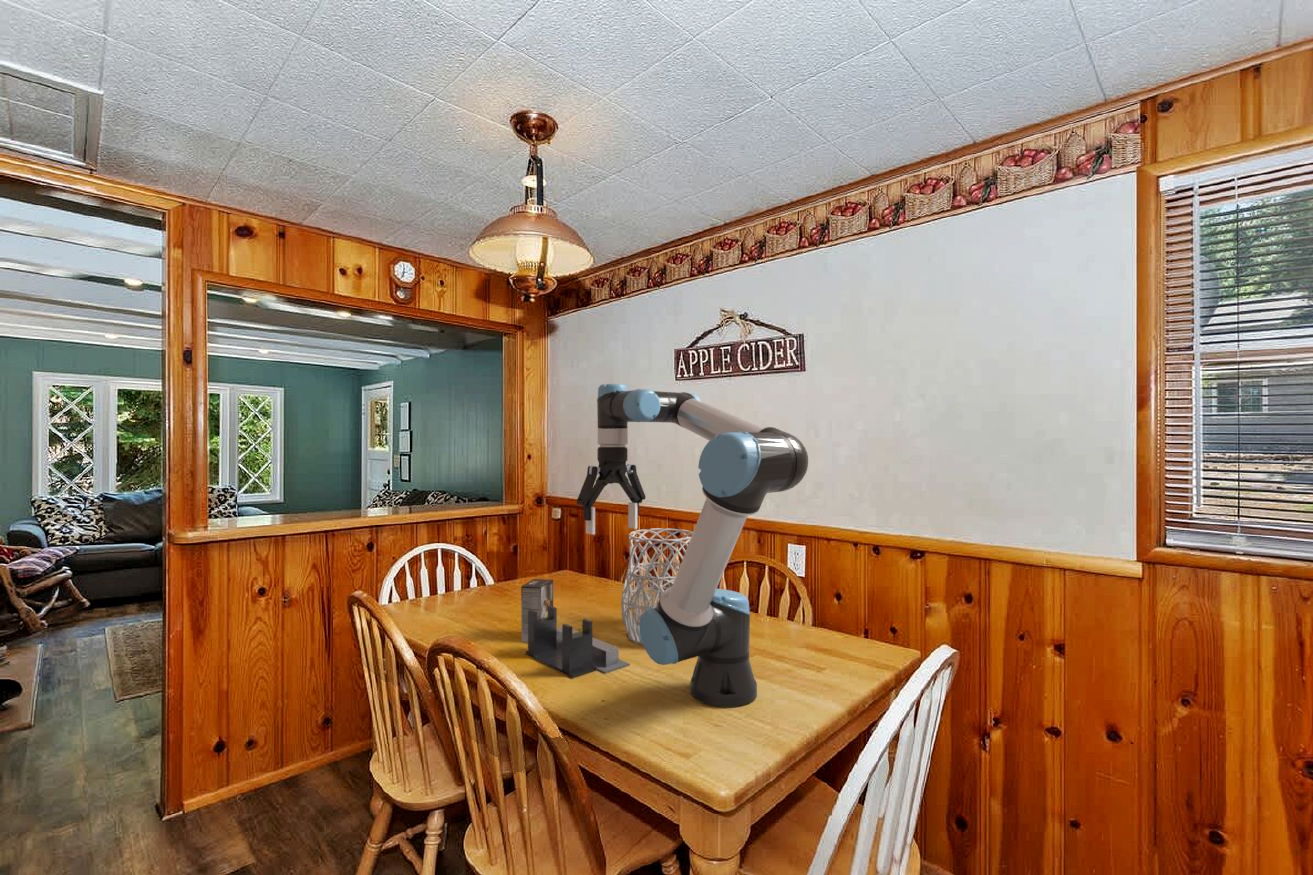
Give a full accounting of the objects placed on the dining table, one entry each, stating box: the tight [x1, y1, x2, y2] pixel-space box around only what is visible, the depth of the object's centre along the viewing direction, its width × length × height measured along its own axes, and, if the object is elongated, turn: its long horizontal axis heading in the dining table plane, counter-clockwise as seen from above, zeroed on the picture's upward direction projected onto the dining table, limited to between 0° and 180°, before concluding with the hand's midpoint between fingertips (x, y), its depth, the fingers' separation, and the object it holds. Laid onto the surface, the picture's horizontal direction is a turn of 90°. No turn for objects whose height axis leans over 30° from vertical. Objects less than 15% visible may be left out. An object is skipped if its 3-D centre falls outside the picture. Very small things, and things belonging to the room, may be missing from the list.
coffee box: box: [520, 578, 554, 643], centre depth 174 cm, size 9×6×16 cm
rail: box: [557, 626, 619, 667], centre depth 161 cm, size 24×4×4 cm, turn 43°
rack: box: [524, 605, 597, 679], centre depth 156 cm, size 22×7×12 cm, turn 43°
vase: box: [620, 527, 694, 646], centre depth 177 cm, size 24×24×30 cm
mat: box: [557, 645, 631, 674], centre depth 161 cm, size 28×8×1 cm, turn 43°
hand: (612, 531), depth 151 cm, fingers open, 13 cm apart
